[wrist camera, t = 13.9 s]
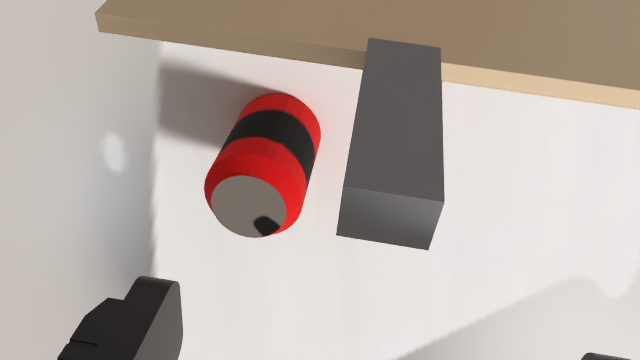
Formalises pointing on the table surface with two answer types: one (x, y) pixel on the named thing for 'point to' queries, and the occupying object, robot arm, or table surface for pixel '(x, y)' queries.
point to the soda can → (264, 167)
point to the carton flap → (412, 74)
